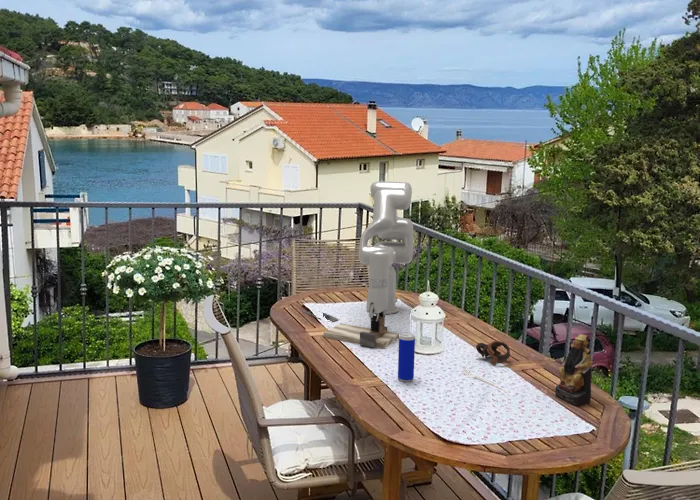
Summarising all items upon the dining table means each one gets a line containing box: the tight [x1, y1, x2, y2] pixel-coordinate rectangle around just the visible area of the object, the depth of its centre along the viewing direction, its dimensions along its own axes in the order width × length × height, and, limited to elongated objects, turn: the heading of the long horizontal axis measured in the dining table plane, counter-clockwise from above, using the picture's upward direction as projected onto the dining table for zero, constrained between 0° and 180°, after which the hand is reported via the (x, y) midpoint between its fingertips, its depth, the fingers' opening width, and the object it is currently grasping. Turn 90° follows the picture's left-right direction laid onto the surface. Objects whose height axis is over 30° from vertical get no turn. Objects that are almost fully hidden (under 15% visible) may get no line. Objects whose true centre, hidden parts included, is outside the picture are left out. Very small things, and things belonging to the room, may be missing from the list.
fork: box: [461, 366, 509, 393], centre depth 205 cm, size 3×20×2 cm, turn 34°
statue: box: [554, 333, 593, 407], centre depth 190 cm, size 12×8×20 cm, turn 20°
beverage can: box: [397, 332, 416, 383], centre depth 205 cm, size 5×5×15 cm
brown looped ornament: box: [475, 340, 511, 366], centre depth 224 cm, size 12×10×8 cm
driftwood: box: [301, 309, 340, 322], centre depth 275 cm, size 21×7×2 cm, turn 35°
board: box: [322, 323, 400, 349], centre depth 247 cm, size 14×26×2 cm, turn 61°
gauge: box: [359, 316, 389, 348], centre depth 242 cm, size 15×6×9 cm, turn 151°
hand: (377, 328), depth 243 cm, fingers closed on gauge, 4 cm apart
